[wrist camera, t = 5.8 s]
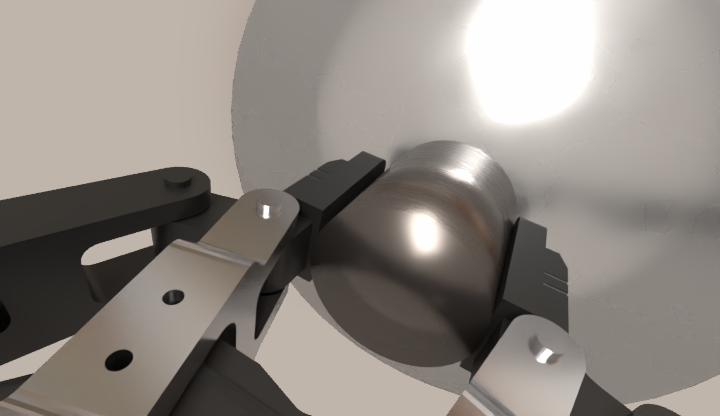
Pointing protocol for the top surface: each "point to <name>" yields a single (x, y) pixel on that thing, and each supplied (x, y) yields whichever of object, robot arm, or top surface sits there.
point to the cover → (501, 170)
